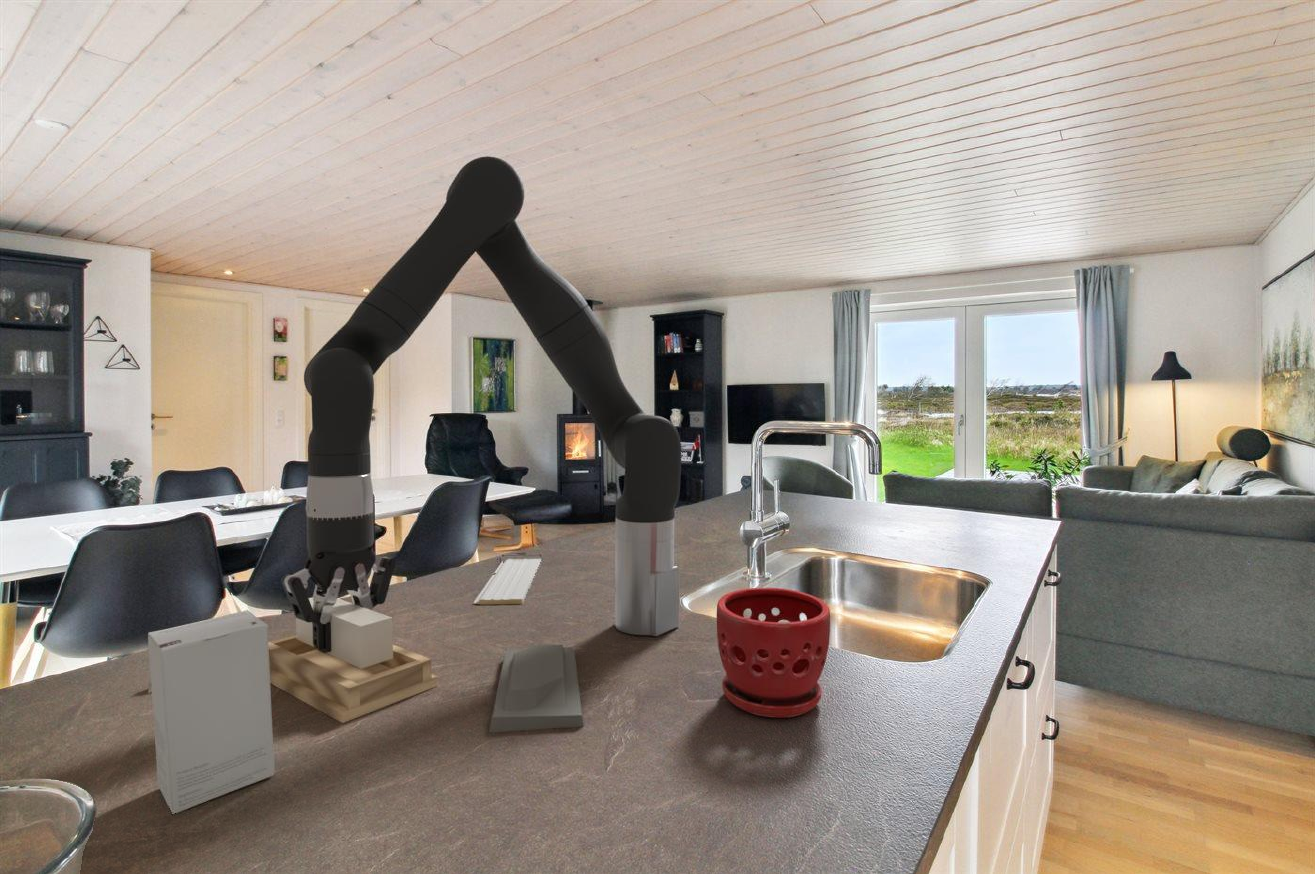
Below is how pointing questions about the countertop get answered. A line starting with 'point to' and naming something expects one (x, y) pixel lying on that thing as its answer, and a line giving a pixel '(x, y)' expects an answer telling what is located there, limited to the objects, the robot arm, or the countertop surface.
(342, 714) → the tray
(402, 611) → the countertop surface
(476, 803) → the countertop surface
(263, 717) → the skincare box
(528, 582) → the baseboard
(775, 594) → the plant pot
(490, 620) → the countertop surface
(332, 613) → the white rectangular block
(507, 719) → the soap mold
